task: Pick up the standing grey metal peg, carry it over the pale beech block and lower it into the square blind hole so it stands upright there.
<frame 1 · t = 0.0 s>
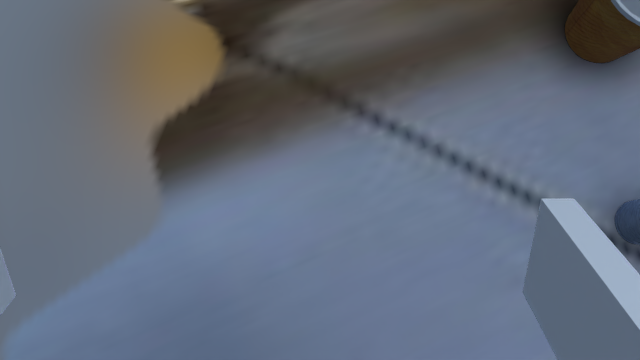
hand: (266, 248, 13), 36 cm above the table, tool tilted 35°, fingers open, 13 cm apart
peg: (637, 222, 49), on the table
disposable coffee cup: (596, 33, 52), on the table
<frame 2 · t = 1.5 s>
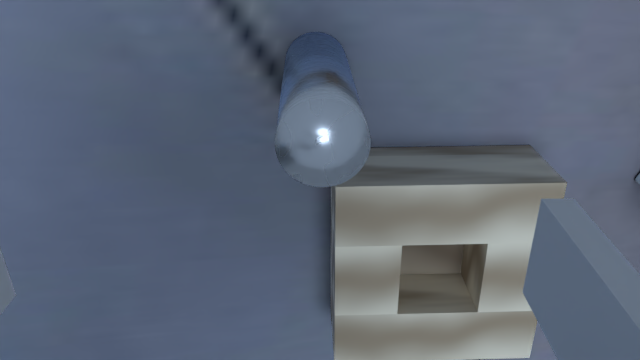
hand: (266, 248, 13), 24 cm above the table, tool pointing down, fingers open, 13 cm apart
peg: (315, 63, 35), on the table
bore block: (423, 232, 41), on the table
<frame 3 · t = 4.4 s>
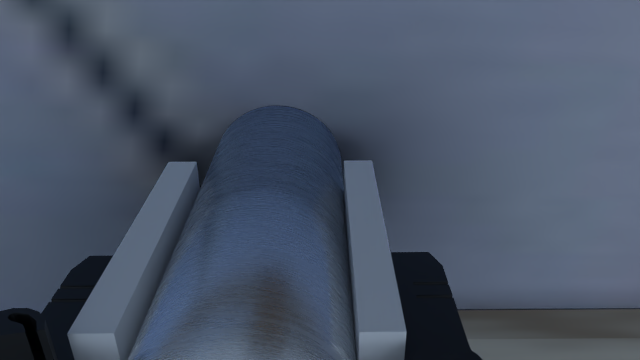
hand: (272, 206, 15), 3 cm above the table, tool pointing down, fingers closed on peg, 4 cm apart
peg: (279, 165, 17), on the table, touching gripper
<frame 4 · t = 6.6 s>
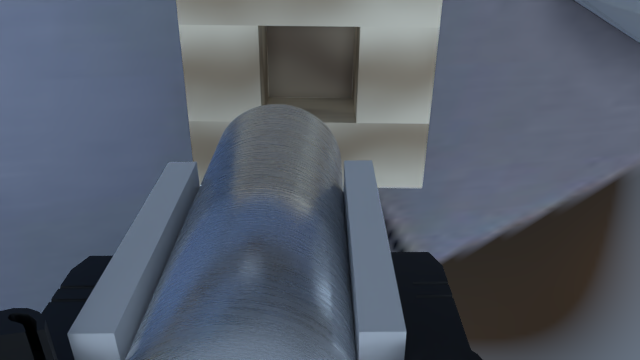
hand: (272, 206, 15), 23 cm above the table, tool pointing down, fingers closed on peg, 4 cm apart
peg: (278, 163, 17), point 20 cm above the table, touching gripper
bore block: (310, 50, 36), on the table
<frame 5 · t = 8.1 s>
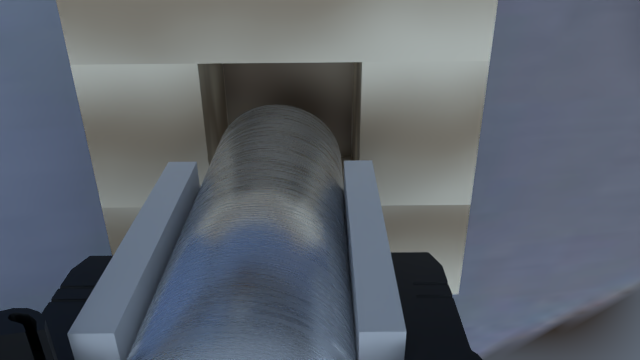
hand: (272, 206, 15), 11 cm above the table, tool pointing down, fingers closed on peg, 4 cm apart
peg: (279, 164, 17), point 8 cm above the table, touching gripper
bore block: (291, 88, 25), on the table
when the fingers open (7 cm above the table, at t = 9.2 s): peg drops 2 cm, resting on bore block.
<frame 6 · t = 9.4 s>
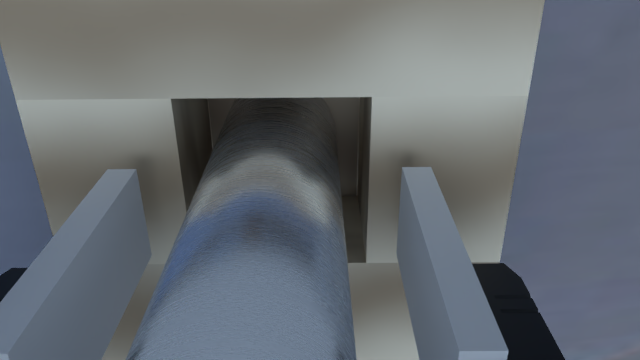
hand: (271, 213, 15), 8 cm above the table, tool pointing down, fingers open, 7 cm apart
peg: (280, 131, 20), point 2 cm above the table, touching bore block
bore block: (287, 116, 21), on the table
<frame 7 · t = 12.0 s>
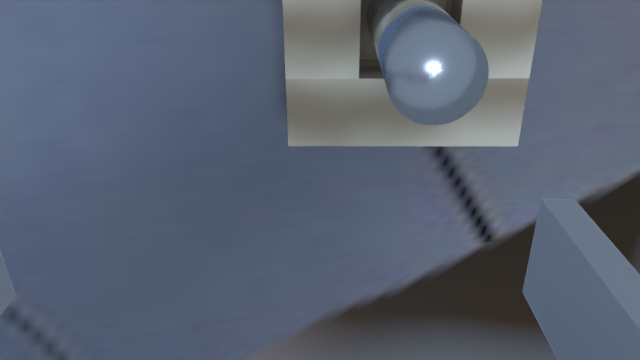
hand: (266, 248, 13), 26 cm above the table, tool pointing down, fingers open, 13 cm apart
peg: (398, 15, 34), point 2 cm above the table, touching bore block
bore block: (398, 10, 35), on the table
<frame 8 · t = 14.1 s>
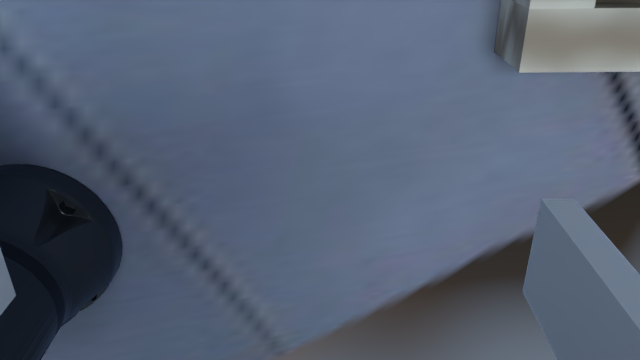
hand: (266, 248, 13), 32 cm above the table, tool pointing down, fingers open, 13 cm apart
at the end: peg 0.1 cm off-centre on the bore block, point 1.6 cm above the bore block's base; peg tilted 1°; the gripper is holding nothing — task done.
